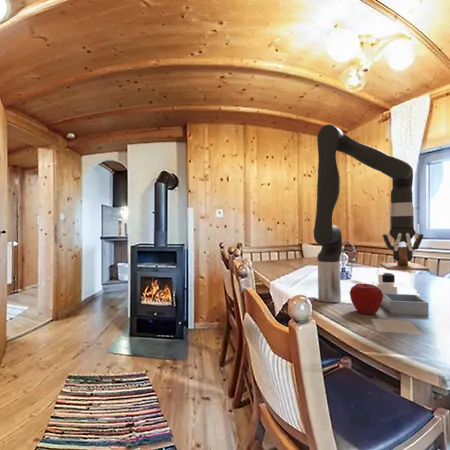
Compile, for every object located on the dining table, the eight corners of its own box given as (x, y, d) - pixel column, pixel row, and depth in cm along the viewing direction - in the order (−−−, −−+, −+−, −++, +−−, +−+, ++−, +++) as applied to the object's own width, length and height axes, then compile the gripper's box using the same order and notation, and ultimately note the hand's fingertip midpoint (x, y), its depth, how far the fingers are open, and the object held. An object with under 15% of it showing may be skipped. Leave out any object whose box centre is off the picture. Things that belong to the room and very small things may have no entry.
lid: (387, 269, 106) (387, 248, 105) (379, 264, 118) (379, 245, 118) (429, 270, 102) (428, 248, 102) (416, 265, 114) (416, 245, 114)
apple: (344, 312, 111) (343, 281, 111) (364, 308, 115) (363, 278, 115) (368, 320, 101) (367, 286, 100) (390, 316, 105) (389, 283, 105)
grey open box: (390, 314, 106) (390, 301, 106) (382, 305, 117) (382, 293, 117) (428, 317, 102) (428, 302, 102) (416, 307, 114) (416, 294, 114)
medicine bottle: (395, 300, 125) (395, 272, 125) (397, 304, 119) (396, 275, 119) (376, 298, 128) (376, 271, 128) (377, 303, 122) (377, 274, 122)
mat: (377, 333, 89) (377, 331, 89) (370, 320, 101) (370, 318, 101) (422, 336, 86) (422, 334, 86) (409, 322, 97) (409, 321, 97)
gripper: (383, 215, 108) (383, 261, 108) (427, 214, 104) (428, 262, 104) (378, 215, 115) (379, 259, 116) (419, 214, 111) (420, 259, 111)
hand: (402, 260), depth 110 cm, fingers closed on lid, 3 cm apart
